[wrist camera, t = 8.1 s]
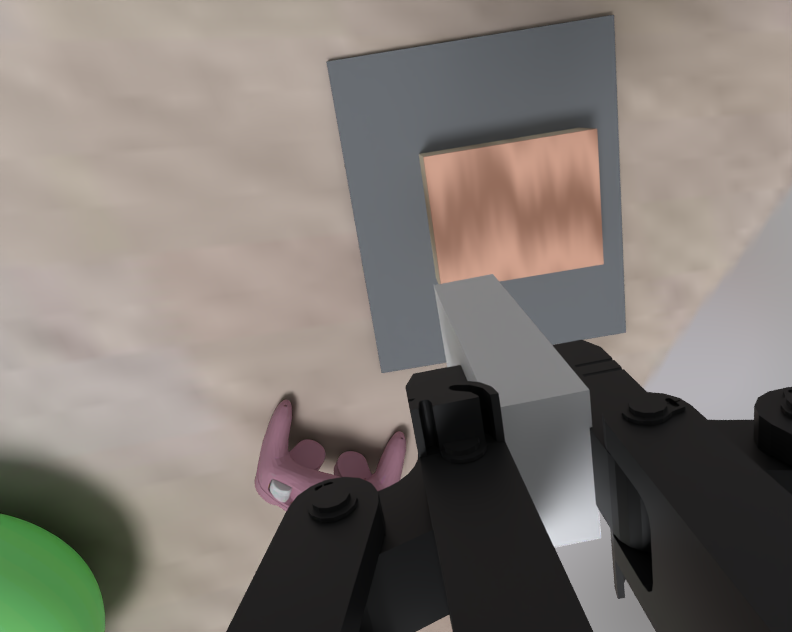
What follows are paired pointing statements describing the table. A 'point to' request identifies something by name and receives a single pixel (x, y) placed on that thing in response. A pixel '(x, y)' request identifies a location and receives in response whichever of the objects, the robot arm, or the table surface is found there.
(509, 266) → the oak tile
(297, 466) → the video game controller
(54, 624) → the toy bird
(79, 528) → the table surface
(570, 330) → the rubber mat
